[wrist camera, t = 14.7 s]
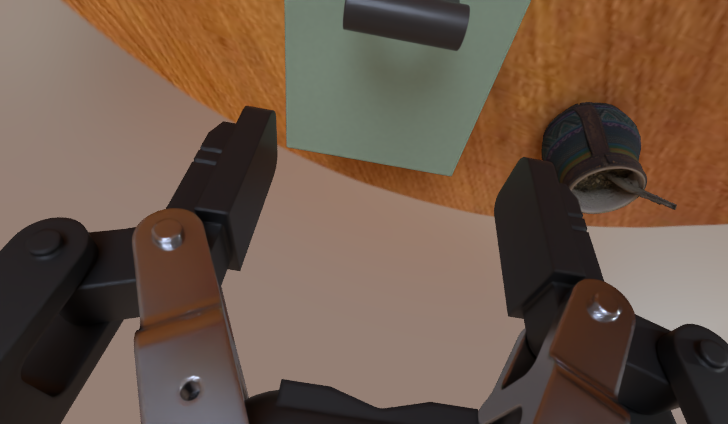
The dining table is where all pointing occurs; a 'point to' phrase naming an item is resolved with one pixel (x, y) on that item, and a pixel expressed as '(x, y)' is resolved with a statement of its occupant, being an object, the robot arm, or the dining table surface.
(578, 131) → the mate gourd
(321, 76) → the chest lid
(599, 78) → the dining table surface
